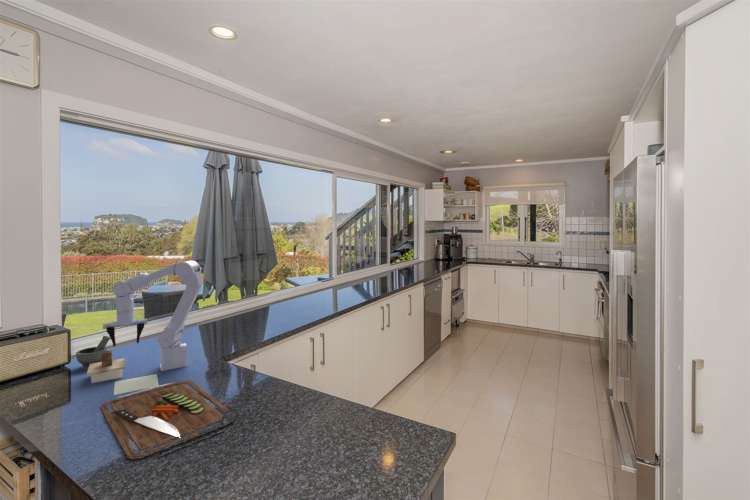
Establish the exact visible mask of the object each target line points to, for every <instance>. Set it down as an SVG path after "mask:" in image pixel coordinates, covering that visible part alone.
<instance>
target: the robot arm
mask: <svg viewBox="0 0 750 500" xmlns="http://www.w3.org/2000/svg"><path fill="white" fill-rule="evenodd" d="M170 275H171V276H177V277H178V278H179V279H180V280H181V281H182V282H183V283H184V284H185V286H186V287H185V289H184V291H183V294H182V295H181V297H180V300H179V302H178V303H177V306H176V308H175V311H174V312H173V315H172V317H171V319H170V320H169V323H168V324H167V325H166V326H165V328H164V329H163V331H162V332H161V333H159V334H158V336H157V339H156V341H157V343H158V345H159V346H160V364H159V370H160V371H161V372H163V371H169V370H174V369H180V368H185V367H188V366H189V365H188V361H189V360H188V358H189V357H188V345H187V343H186V342H183V343H182V341H181V339H183V337H184V329H185V327H186V326H185V323H186V320H187V318H188V316H189V314H190V312H191V310H192V308H193V305H194V304H195V303H194V302H195V301H196V299H197V297H198V295H199V292H200V290H201V288H202V286H203V282H202V268H201V266H200V264H199V263H198V262H197V260H191V259H190V260H187V261H181V262H178V263H173V264H169V265H167V266H164V267H162V268H160V269H157V270H155V271H152V272H150V273H148V272H138V273H137V275H134V276H132V277H126V278H125V280H122V281H117V282H116V283H114V284H113V286H112V292H113V294H114V295H115V300H116V301H115V302H116V303H115V306H116V309H115V310H116V321H111V322H106V323H105V322H104V323H102V330H105V331H106V333H107V334H108V335H109V337H110V338H111V339H110V340H111V342H112V346H113V347H116V346H117V345H116V336H115V335H116V331H115V328H122V327H123V328H124V327H130V326H132V327H133V326H136V344H139V343H140V338H141V335H142V332H143V330H144V328H145V325H148V318H140V319H139V318H137V319H136V318H135V300H134V299H135V298H134V296H135V295H134V294H135V292H138V291H140V290H143V289H146V288H147V287H150V286H152V285H153V282H154V281H156V280H159V279H162V278H164V277H168V276H170Z"/></svg>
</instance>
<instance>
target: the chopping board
mask: <svg viewBox="0 0 750 500" xmlns="http://www.w3.org/2000/svg"><path fill="white" fill-rule="evenodd" d="M193 389H194V390H195V391H194V390H193ZM201 396H202V397H203V398H205V399H207V400H209V401H210V402H211V403H213V404H214V405H215V406H217V407H219V408H220V409H221V410H223V411H225V412H226V411H228V410H229V409H228V408H227V407H226V406H225V405H223V404H222V403H221V402H219V401H218V400H217V399H215V398H214V397H213V396H212V395H210V394H209V393H208V392H207V391H206V390H204V389H203V388H202V387H201V386H199V385H197V384H196V383H195V382H194V381H192V380H181V381H178V382H169V383H165V384H162V385H161V384H160V385H159V386H156V387H151V388H146V389H141V390H138V391H136V392H135V391H134V392H132V393H131V392H130V393H128V394H125V395H120V396H117V398H115V399H112V400H109V401H105V403H103V404H101V405H100V409H101V411H102V414H103V417H104V418H105V421H106V423H107V424H108V426H109V427H110V429H111V432H112V433H113V434H115V435H114V436H115V438H116V440H117V442H118V441H119V442H118V443H120V444H119V445H121V446H122V447H121V446H120V447H121V449H122V448H123V449H122V451H123V450H124V451H125V453H126V455H127V456H128V457H134V458H135V457H140V456H143V455H146V454H149V453H151V452H154V451H156V450H158V449H161V448H164V447H166V446H168V445H171V444H173V443H176V442H178V441H181V440H184V439H187V438H190V437H193V436H195V435H197V434H199V433H201V432H202V431H201V430H200V431H198V432H195V433H192V434H190V435H187V436H185V437H182V438H181V437H180V436H181V435H184V434H186V433H189V432H192V431H194V430H196V429H198V428H201V427H204V426H207V425H209V424H210V423H215V422H217V421H219V420H222V416H223V415H222V414H221V413H220V412H218V411H217V410H216V409H215V408H213V407H212V406H211V405H210V404H209V403H207V402H206V401H205V400H204V399H203V398H202V397H201ZM109 405H110V407H111V408H112V411H113V412H111V411H110V410H109V408H108V406H109ZM176 437H179V439H177V440H174V441H171V442H169V443H166V444H164V445H161V446H158V447H156V448H153V449H150V450H148V451H145V452H142V453H135V452H133V450H132V448H131V447H130V445H129V440H128V439H130V440H131V441H132V442H134V444H135V445H136V446H137V448H138V449H139V450H144V449H146V448H149V447H152V446H155V445H157V444H160V443H163V442H165V441H168V440H171V439H173V438H176ZM124 451H123V452H124ZM125 453H124V454H125ZM126 455H125V456H126ZM127 456H126V457H127Z"/></svg>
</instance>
